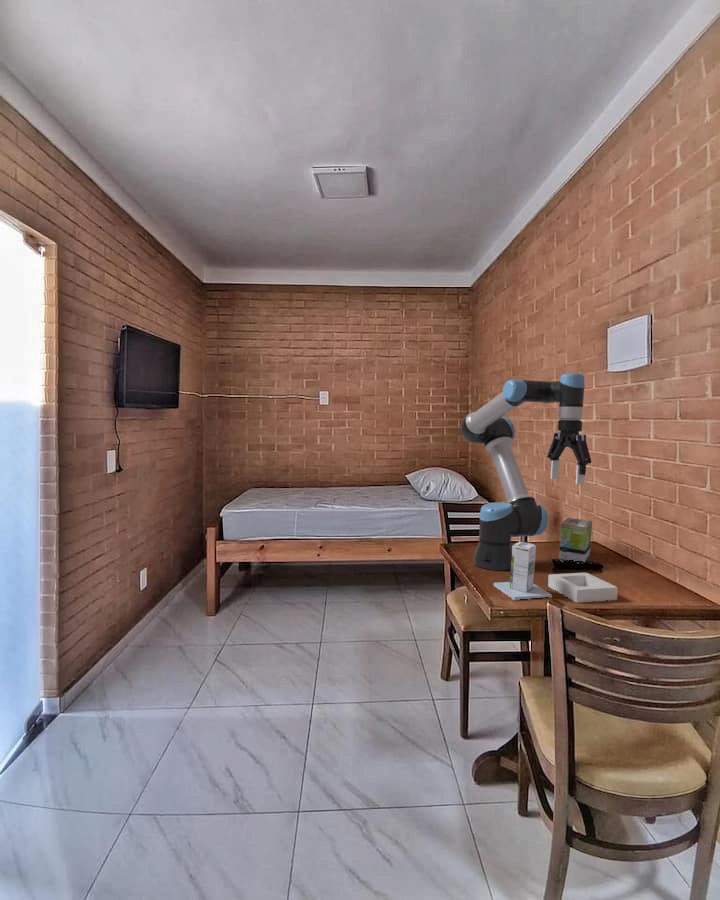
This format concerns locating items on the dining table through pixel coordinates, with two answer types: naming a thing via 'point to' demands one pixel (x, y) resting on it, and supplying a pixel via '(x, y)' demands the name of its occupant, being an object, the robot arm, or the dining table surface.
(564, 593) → the white tray
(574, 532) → the tea box
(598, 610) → the dining table surface
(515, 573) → the syrup box
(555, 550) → the dining table surface
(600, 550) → the dining table surface
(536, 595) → the board
